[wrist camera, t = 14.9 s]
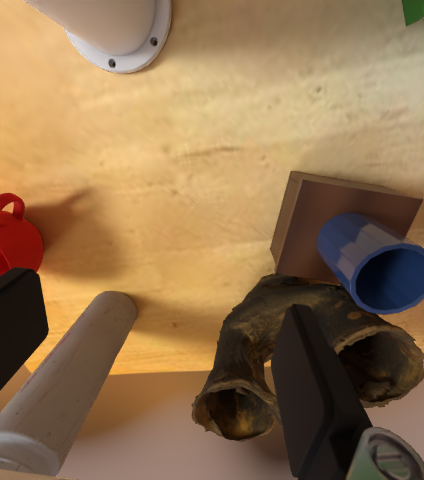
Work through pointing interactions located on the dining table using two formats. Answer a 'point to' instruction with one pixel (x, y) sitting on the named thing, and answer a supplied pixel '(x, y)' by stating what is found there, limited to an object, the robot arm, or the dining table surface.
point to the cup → (373, 263)
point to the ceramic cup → (18, 237)
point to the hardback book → (413, 10)
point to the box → (290, 197)
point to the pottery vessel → (263, 344)
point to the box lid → (326, 207)
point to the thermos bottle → (64, 388)
